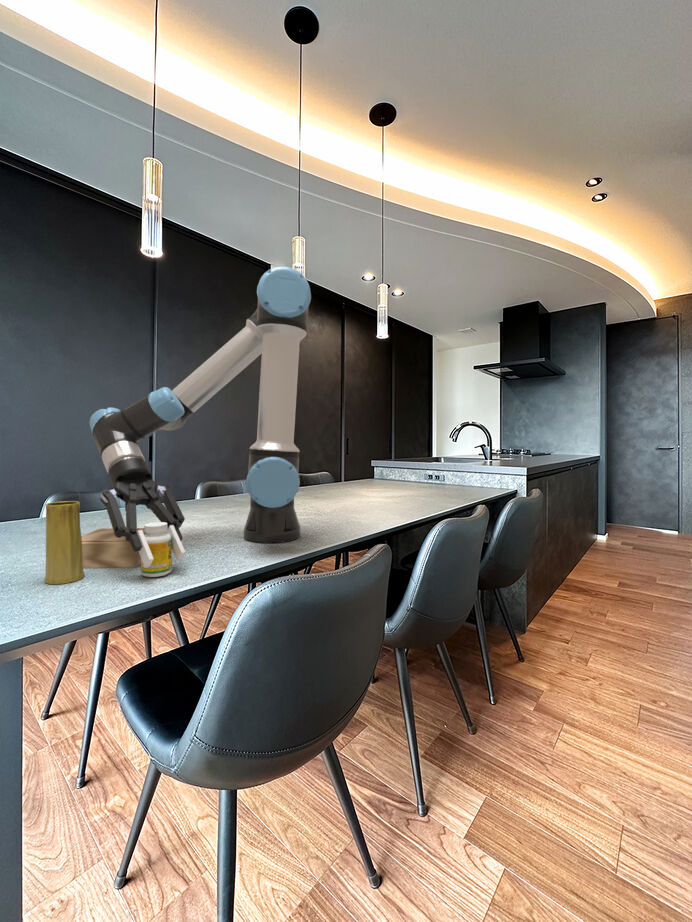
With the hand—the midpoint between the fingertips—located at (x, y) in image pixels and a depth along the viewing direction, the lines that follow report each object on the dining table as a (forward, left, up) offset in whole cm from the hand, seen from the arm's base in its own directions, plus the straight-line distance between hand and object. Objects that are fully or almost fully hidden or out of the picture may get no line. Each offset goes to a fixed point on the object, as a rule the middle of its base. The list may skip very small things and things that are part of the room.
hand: (165, 559), depth 78 cm
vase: (+19, -1, -4) cm, 19 cm away
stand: (+16, -15, -4) cm, 22 cm away
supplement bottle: (+3, -3, -4) cm, 5 cm away
